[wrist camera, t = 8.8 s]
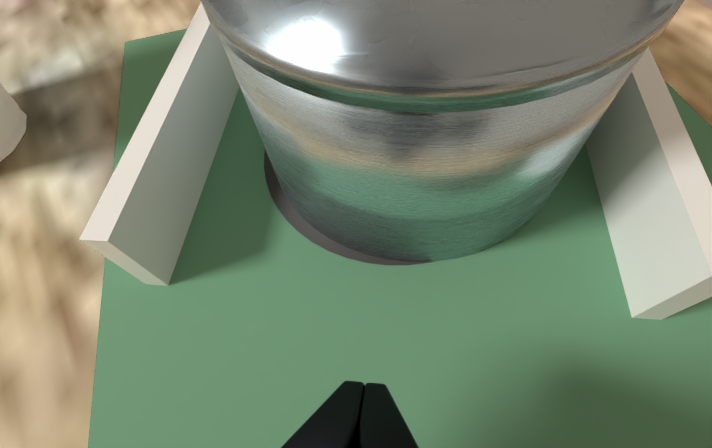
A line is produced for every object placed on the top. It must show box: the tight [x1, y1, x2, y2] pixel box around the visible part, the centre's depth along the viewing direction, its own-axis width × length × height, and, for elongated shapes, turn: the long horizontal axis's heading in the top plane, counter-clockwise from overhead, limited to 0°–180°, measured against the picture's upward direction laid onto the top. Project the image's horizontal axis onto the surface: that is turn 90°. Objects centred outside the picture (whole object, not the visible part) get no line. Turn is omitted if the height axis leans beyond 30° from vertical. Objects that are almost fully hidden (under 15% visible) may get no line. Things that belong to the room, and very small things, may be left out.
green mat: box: [88, 29, 712, 448], centre depth 17 cm, size 35×28×1 cm
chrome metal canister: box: [201, 0, 684, 262], centre depth 15 cm, size 14×14×9 cm
